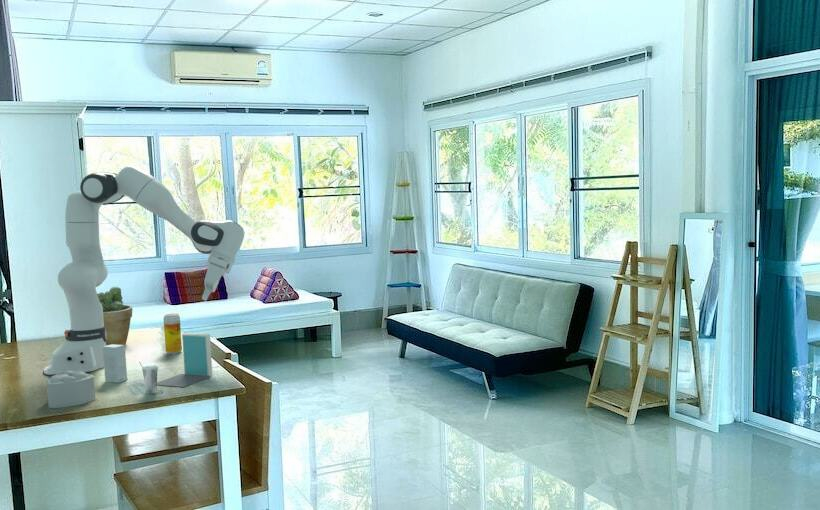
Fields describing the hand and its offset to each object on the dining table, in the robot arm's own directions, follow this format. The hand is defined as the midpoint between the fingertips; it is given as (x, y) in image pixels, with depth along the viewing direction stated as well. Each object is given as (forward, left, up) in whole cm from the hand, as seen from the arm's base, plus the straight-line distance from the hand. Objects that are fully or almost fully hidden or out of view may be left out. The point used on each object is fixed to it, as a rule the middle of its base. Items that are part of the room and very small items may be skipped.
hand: (203, 299), depth 264 cm
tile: (-5, -11, -24) cm, 27 cm away
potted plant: (-31, +60, -24) cm, 71 cm away
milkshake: (-21, -27, -24) cm, 42 cm away
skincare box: (-31, -5, -24) cm, 39 cm away
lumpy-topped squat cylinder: (-44, -25, -24) cm, 56 cm away
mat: (-11, -17, -24) cm, 31 cm away
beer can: (-9, +31, -24) cm, 40 cm away
